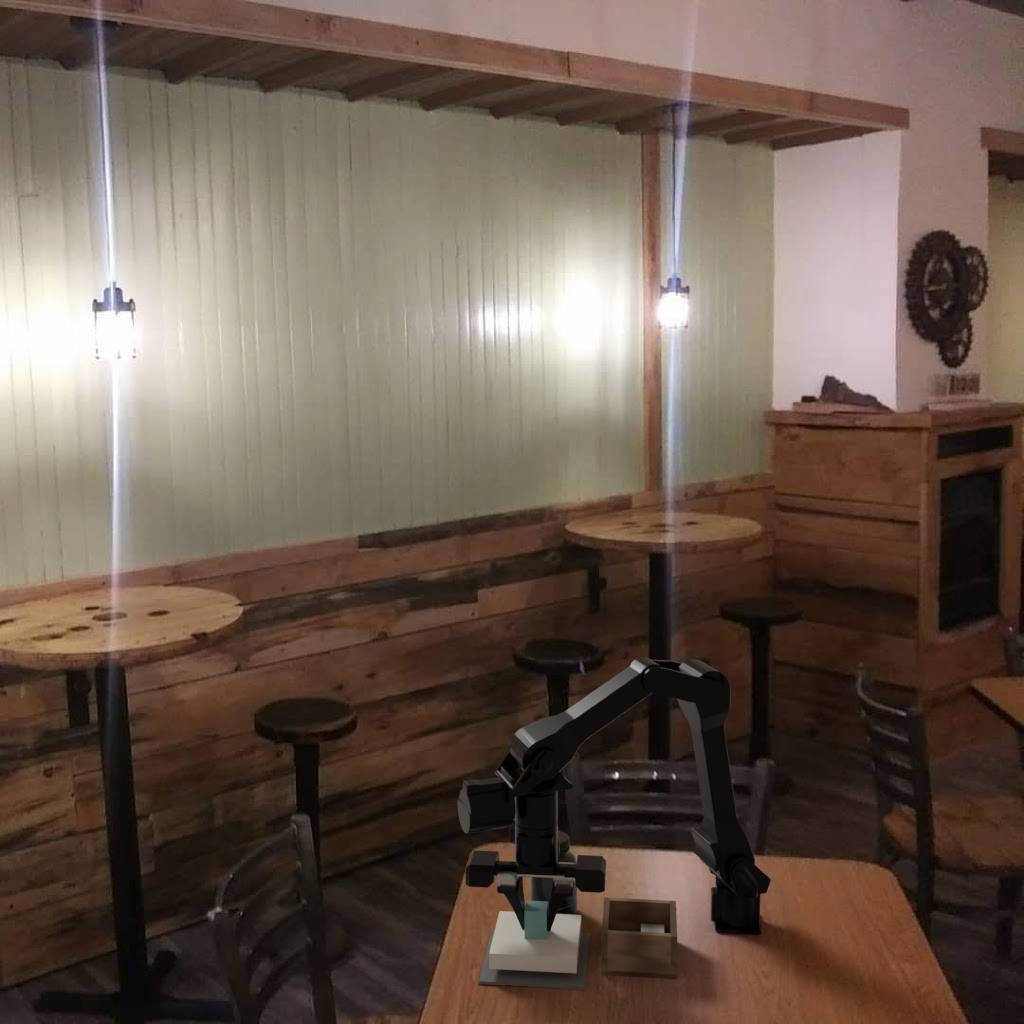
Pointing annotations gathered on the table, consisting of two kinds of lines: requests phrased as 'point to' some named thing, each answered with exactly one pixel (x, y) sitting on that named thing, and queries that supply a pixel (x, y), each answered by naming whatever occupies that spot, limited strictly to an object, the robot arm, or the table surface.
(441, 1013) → the table surface
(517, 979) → the mat
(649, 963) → the parts box
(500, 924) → the lid
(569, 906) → the supplement bottle
